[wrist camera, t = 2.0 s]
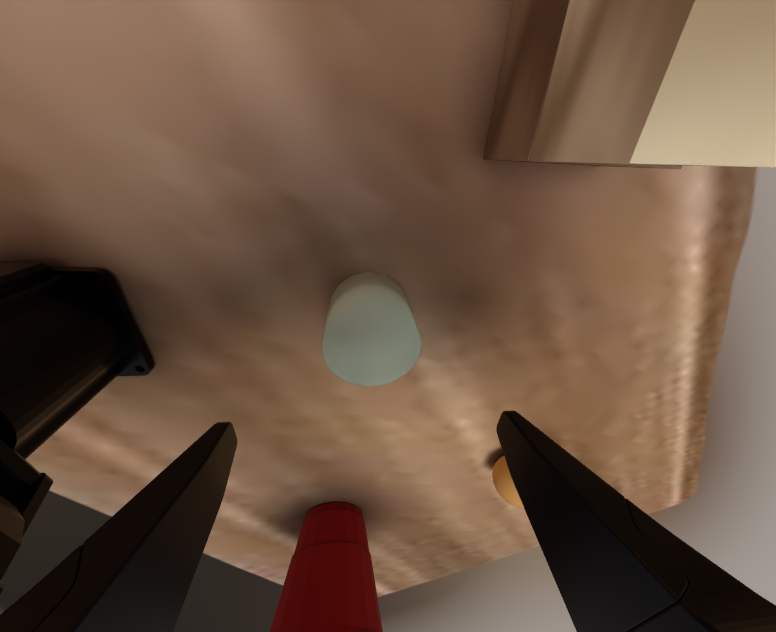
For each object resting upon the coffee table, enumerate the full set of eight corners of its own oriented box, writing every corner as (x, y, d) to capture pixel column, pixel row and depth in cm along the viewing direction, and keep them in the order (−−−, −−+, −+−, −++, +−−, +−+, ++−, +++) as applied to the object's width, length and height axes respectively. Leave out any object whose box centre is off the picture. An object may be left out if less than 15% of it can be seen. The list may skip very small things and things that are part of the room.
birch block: (684, 165, 10) (855, 169, 7) (530, 161, 9) (629, 163, 6) (815, -100, 7) (1253, -347, 4) (601, -129, 6) (879, -456, 3)
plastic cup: (253, 523, 27) (187, 753, 16) (329, 473, 24) (308, 714, 14) (334, 551, 31) (323, 743, 21) (407, 512, 29) (435, 713, 18)
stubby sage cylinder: (404, 340, 18) (415, 385, 14) (331, 340, 17) (324, 387, 14) (411, 273, 15) (427, 306, 12) (327, 270, 15) (318, 305, 11)
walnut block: (598, 166, 14) (680, 168, 10) (481, 159, 13) (527, 160, 9) (664, -12, 11) (813, -93, 7) (518, -32, 10) (604, -132, 6)
